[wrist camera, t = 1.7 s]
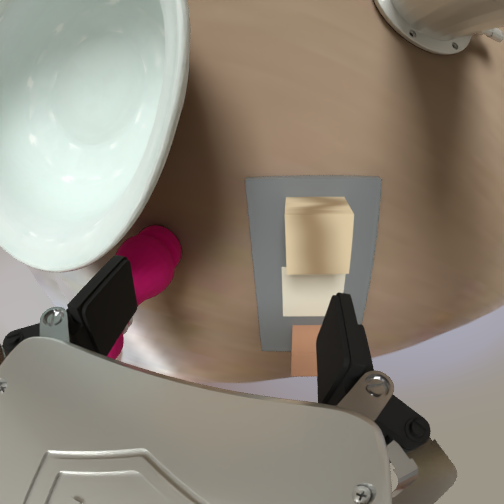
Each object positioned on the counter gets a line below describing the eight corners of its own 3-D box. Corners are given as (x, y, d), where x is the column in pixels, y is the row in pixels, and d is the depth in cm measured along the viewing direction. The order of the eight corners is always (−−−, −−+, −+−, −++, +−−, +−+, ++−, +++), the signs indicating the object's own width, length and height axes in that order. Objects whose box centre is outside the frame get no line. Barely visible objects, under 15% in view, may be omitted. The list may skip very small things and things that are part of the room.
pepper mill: (195, 264, 34) (123, 399, 17) (152, 276, 36) (75, 391, 19) (169, 213, 31) (60, 332, 14) (126, 231, 33) (24, 335, 16)
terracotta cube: (329, 324, 35) (332, 352, 30) (326, 348, 37) (327, 376, 33) (292, 325, 36) (291, 353, 31) (292, 349, 38) (290, 376, 34)
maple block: (344, 196, 26) (354, 214, 22) (341, 248, 29) (348, 273, 25) (285, 197, 27) (284, 214, 23) (287, 249, 30) (286, 274, 26)
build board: (378, 176, 26) (382, 179, 25) (354, 344, 38) (355, 350, 37) (246, 177, 28) (244, 180, 27) (262, 345, 40) (261, 351, 39)
